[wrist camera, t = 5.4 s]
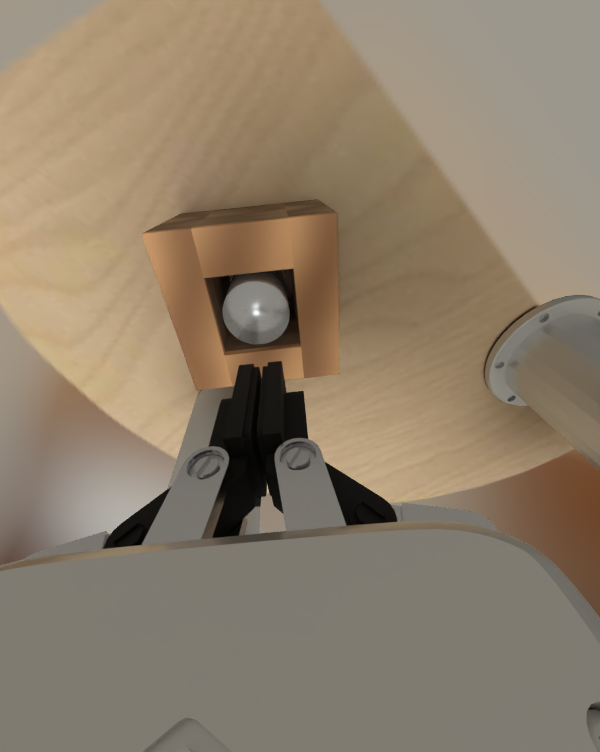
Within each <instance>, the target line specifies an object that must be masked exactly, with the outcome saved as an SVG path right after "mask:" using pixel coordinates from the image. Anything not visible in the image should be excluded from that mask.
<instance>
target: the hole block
mask: <svg viewBox="0 0 600 752" xmlns="http://www.w3.org/2000/svg"><path fill="white" fill-rule="evenodd" d="M142 237H143V240H144V243H145V246H146V249H147V251H148V254H149V257H150V260H151V263H152V266H153V268H154V271H155V274H156V277H157V280H158V283H159V285H160V288H161V291H162V294H163V297H164V300H165V302H166V305H167V308H168V311H169V314H170V317H171V319H172V322H173V325H174V328H175V331H176V334H177V336H178V339H179V342H180V345H181V348H182V351H183V353H184V356H185V359H186V362H187V365H188V367H189V370H190V373H191V376H192V379H193V382H194V384H195V387H196V390H205V389H214V388H222V387H231V386H234V385H235V381H236V376H237V372H238V367H239V365H245V364H254V367H259V368H260V373H261V378H262V369H263V366H268V362H275V361H282V366H283V373H284V380H291V379H300V378H308V377H317V376H326V375H334V374H340V367H339V285H338V213H337V212H335V211H334V210H332V209H331V208H329V207H328V206H326V205H325V204H323V203H322V202H320V201H319V200H309V201H299V202H290V203H281V204H271V205H262V206H252V207H243V208H233V209H224V210H214V211H205V212H195V213H186V214H179V215H177V216H175V217H174V218H172V219H170V220H168V221H166V222H164V223H162V224H160V225H158V226H156V227H154V228H152V229H150V230H148V231H146V232H144V233H142ZM283 269H290V273H291V283H292V293H293V302H289V303H288V304H289V313H290V317H289V322H288V325H287V328H286V329H285V331H284V332H283V334H282V335H281V336H280V337H278V338H277V339H275V340H274V341H272V342H269V343H266V344H249V343H246V342H243V341H241V340H239V339H238V338H236V337H235V336H234V335H233V334H232V333H231V332H230V331H229V330H228V328H227V327H226V325H225V322H224V319H223V311H222V310H223V304H224V301H225V298H226V295H227V292H228V289H229V286H230V284H231V283H230V279H229V275H238V274H247V273H256V272H265V271H274V270H283Z"/></svg>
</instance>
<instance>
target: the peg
mask: <svg viewBox="0 0 600 752" xmlns="http://www.w3.org/2000/svg"><path fill="white" fill-rule="evenodd" d="M222 311H223V319H224V322H225V325H226V327H227V328H228V330H229V331H230V332H231V333H232V334H233V335H234V336H235V337H236V338H238V339H239V340H241V341H243V342H246V343H249V344H266V343H269V342H272V341H274V340H275V339H277V338H278V337H280V336H281V335H282V334H283V332H284V331H285V329H286V328H287V325H288V322H289V317H290V313H289V304H288V297H287V289H286V282H285V274H284V269H283V270H274V271H265V272H256V273H247V274H238V275H233V278H232V281H231V284H230V286H229V289H228V292H227V295H226V298H225V301H224V304H223V310H222Z"/></svg>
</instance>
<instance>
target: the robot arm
mask: <svg viewBox="0 0 600 752" xmlns="http://www.w3.org/2000/svg"><path fill="white" fill-rule="evenodd" d="M485 381H486V384H487V386H488V388H489V390H490V391H491V392H492V393H493V394H494V395H495V396H496V397H497V398H498V399H499V400H500V401H502V402H504V403H506V404H510V405H515V406H529V407H530V408H532V409H533V410H534V411H535V412H536V413H537V414H538V415H539V416H540V417H541V418H542V419H544V420H545V421H546V422H547V423H548V424H549V425H550V426H551V427H552V428H553V429H554V430H555V431H557V432H558V433H559V434H560V435H561V436H562V437H563V438H564V439H565V440H566V441H567V442H568V443H570V444H571V445H572V446H573V447H574V448H575V449H576V450H577V451H578V452H579V453H580V454H581V455H583V456H584V457H585V458H586V459H587V460H588V461H589V462H590V463H591V464H592V465H594V467H596V468H597V469H598V470H599V471H600V299H598V298H595V297H592V296H585V295H574V296H566V297H562V298H559V299H555V300H552V301H550V302H547V303H545V304H543V305H540V306H538V307H537V308H535V309H533V310H532V311H530V312H528V313H527V314H525V315H524V316H523V317H521V318H520V319H519V320H517V321H516V322H515V323H514V324H513V325H511V326H510V327H509V328H508V329H507V330H506V331H505V332H504V333H503V335H502V336H501V337H500V339H499V340H498V341H497V342H496V344H495V345H494V347H493V349H492V351H491V352H490V354H489V357H488V360H487V363H486V367H485ZM267 484H268V489H269V493H270V495H271V496H272V499H273V504H274V506H275V507H276V508H277V509H278V510H279V511H281V512H282V513H283V514H284V520H285V526H286V531H284V532H272V533H261V534H251V535H245V532H246V528H247V524H248V514H249V513H250V512H251V511H252V510H253V509H254V508H255V507H260V504H261V497H263V496H266V491H267ZM0 752H600V618H599V616H598V615H597V614H596V612H595V611H594V610H593V608H592V607H591V606H590V605H589V603H588V602H587V601H586V600H585V598H584V597H583V596H582V595H581V593H580V592H579V591H578V590H577V589H576V587H575V586H574V585H573V584H572V583H571V582H570V580H569V579H568V578H567V577H566V576H565V575H564V574H563V573H562V572H561V571H560V570H559V569H558V567H556V565H555V564H553V562H551V561H550V560H549V559H548V558H547V557H545V556H544V555H543V554H542V553H541V552H539V551H538V550H537V549H534V548H533V547H532V546H530V545H528V544H527V543H525V542H523V541H521V540H518V539H516V538H513V537H511V536H509V535H506V534H504V533H501V532H498V531H497V529H496V527H495V526H494V525H493V524H492V523H491V522H490V521H489V520H488V519H487V518H485V517H483V516H482V515H480V514H478V513H474V512H471V511H466V510H458V509H449V508H441V507H433V506H424V505H416V504H408V503H402V504H401V506H395V505H390V504H389V503H388V502H387V501H386V500H385V499H383V498H382V497H380V496H379V495H377V494H375V493H374V492H372V491H371V490H369V489H367V488H366V487H364V486H363V485H361V484H359V483H358V482H356V481H355V480H353V479H351V478H350V477H348V476H347V475H345V474H343V473H342V472H340V471H339V470H337V469H335V468H334V467H332V466H331V465H329V464H327V463H326V462H324V459H323V456H322V453H321V450H320V448H319V447H318V445H317V444H316V443H315V442H313V441H311V440H309V439H308V433H307V423H306V413H305V402H304V392H303V391H299V392H289V393H286V387H285V380H284V373H283V366H282V361H275V362H268V366H263V369H262V378H261V373H260V368H259V367H254V364H245V365H239V367H238V372H237V376H236V381H235V385H234V390H233V394H232V398H228V399H222V400H221V402H220V405H219V409H218V413H217V416H216V420H215V424H214V428H213V431H212V435H211V439H210V442H209V446H208V447H205V448H202V449H199V450H197V451H196V452H194V453H192V454H191V455H190V456H189V457H188V458H187V459H186V461H185V462H184V463H183V465H182V467H181V469H180V471H179V473H178V475H177V477H176V479H175V481H174V483H173V485H172V487H170V488H169V489H167V490H166V491H165V492H163V493H162V494H161V495H159V496H158V497H157V498H155V499H154V500H153V501H151V502H150V503H149V504H147V505H146V506H144V507H143V508H142V509H140V510H139V511H138V512H136V513H135V514H134V515H132V516H131V517H130V518H128V519H127V520H126V521H124V522H123V523H121V525H119V526H118V527H117V528H116V529H115V530H114V531H113V532H112V533H111V534H108V533H107V532H106V531H105V532H102V533H98V534H95V535H92V536H88V537H85V538H82V539H79V540H75V541H72V542H69V543H66V544H62V545H59V546H56V547H53V548H49V549H46V550H42V551H39V552H37V553H34V554H32V555H30V556H28V557H26V558H25V559H24V560H21V561H17V562H13V563H8V564H4V565H0Z"/></svg>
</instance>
